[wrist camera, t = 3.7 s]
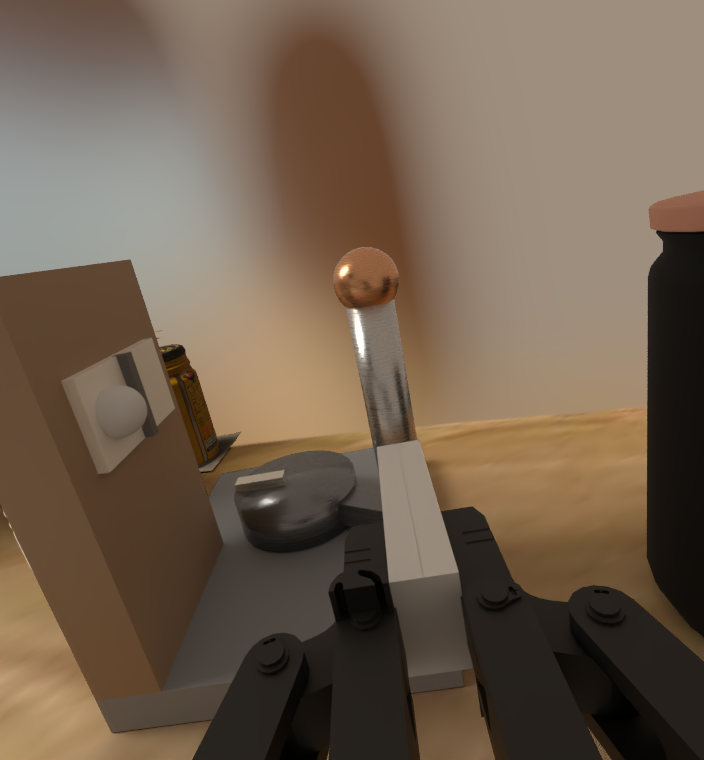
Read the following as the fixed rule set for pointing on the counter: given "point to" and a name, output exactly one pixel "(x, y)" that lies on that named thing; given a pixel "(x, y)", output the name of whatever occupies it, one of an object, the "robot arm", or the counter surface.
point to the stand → (138, 508)
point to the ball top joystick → (329, 469)
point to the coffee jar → (677, 406)
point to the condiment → (195, 409)
